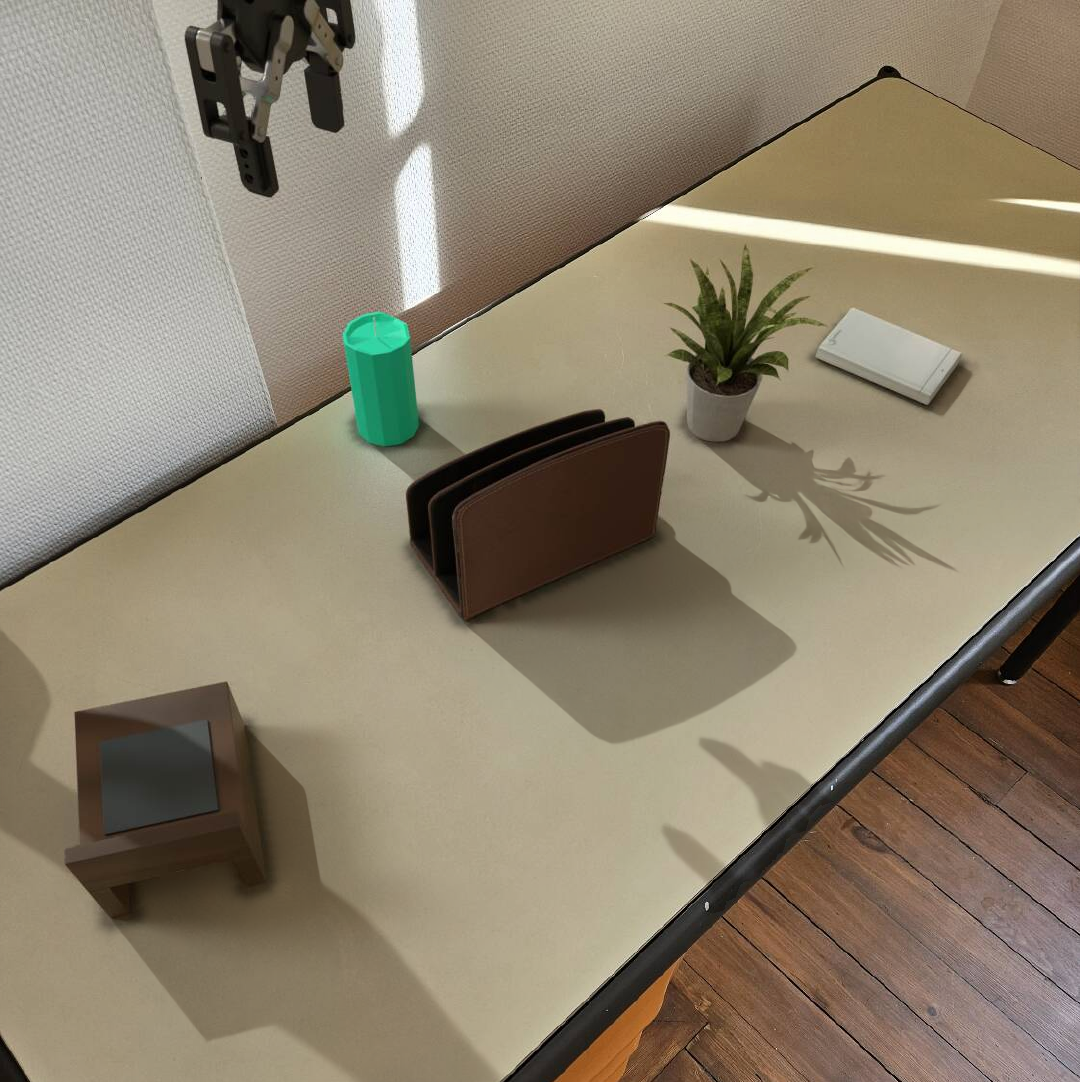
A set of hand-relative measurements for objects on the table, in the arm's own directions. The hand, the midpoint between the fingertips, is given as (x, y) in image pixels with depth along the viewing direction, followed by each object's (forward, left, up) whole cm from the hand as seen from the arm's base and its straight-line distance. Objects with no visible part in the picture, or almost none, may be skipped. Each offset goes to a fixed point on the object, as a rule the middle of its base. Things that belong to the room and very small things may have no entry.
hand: (296, 159), depth 71 cm
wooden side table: (+4, -34, -32) cm, 47 cm away
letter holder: (+17, +2, -32) cm, 36 cm away
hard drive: (+40, +40, -32) cm, 65 cm away
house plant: (+28, +24, -32) cm, 49 cm away
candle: (-2, +10, -32) cm, 33 cm away
